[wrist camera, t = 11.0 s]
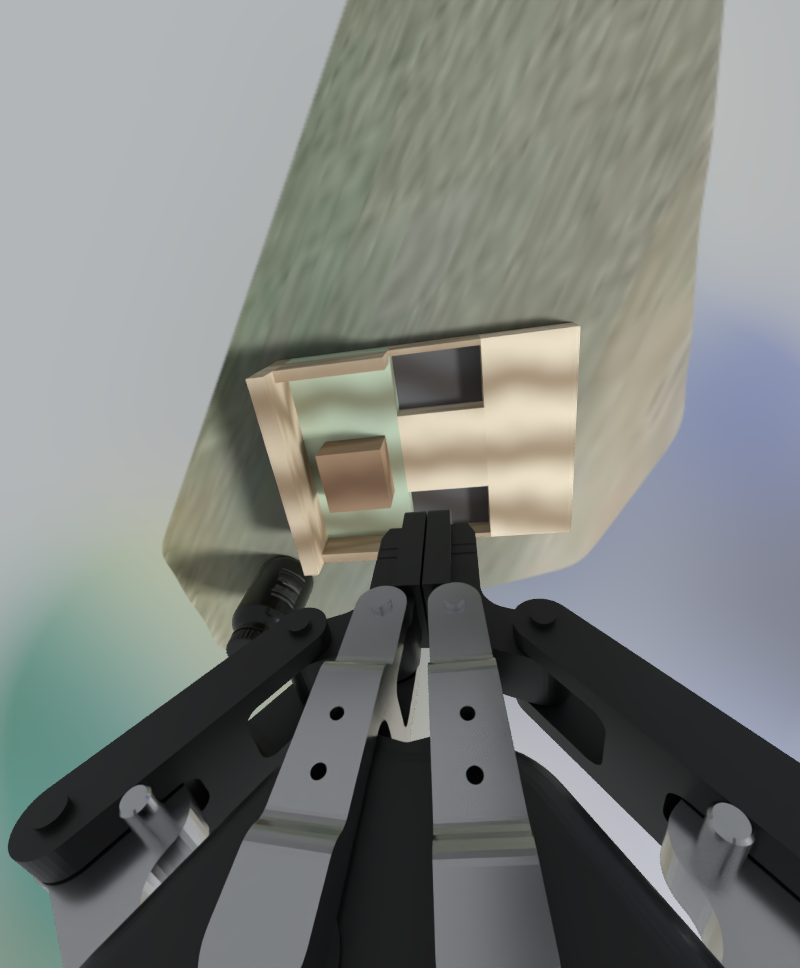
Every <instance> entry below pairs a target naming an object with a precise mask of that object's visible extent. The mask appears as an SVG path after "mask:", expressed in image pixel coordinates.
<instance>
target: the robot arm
mask: <svg viewBox="0 0 800 968" xmlns="http://www.w3.org/2000/svg"><path fill="white" fill-rule="evenodd" d="M421 648H430V663H428V687H429V716H430V737H428V738H424V739H420V740H416V741H412V742H411V731H412V725H413V718H414V711H415V705H416V699H417V693H418V686H419V679H420V665H419V663H420V655H421ZM290 679H291V680H292V683H293V684H292V685H291V686H289V687H288V688H287V689H286V690H285V691H283V692H282V693H281V694H280V695H279V696H278V697H276V698H275V699H274V700H273V701H272V702H271V703H269V704H268V705H267V706H266V707H265V708H263V709H262V710H261V711H260V712H259V713H258V714H256V715H255V716H254V717H253V718H252V719H250V720H249V721H248V719H249V717H250V715H251V714H252V712H253V711H254V710H255V709H256V708H257V707H258V706H259V705H261V704H262V703H263V702H264V701H265V700H266V699H268V698H269V697H270V696H271V695H273V694H274V693H275V692H276V691H277V690H278V689H280V688H281V687H282V686H283V685H284V684H286V683H287V682H288V681H289V680H290ZM503 694H505V695H508V696H511V697H514V698H516V699H517V701H518V704H519V705H520V707H521V708H522V709H523V710H524V711H525V712H526V713H527V714H528V715H529V716H530V717H531V718H532V719H533V720H534V721H535V722H536V723H537V724H538V725H539V726H540V727H541V728H542V729H543V730H544V731H545V732H546V733H547V734H548V735H549V736H550V737H551V738H552V739H553V740H554V741H555V742H556V743H557V744H559V746H560V747H561V748H562V749H563V750H564V751H565V752H566V753H567V754H568V755H569V756H571V757H572V759H573V760H574V761H575V762H577V763H578V764H579V765H580V766H581V767H582V768H583V769H584V770H585V771H586V772H587V773H588V774H589V775H590V776H591V777H592V778H593V779H594V780H595V781H596V782H597V783H598V784H599V785H600V786H601V787H602V788H603V789H604V790H605V791H606V792H607V793H608V794H609V795H610V796H611V797H612V798H613V799H614V800H615V801H616V802H617V803H618V804H619V805H620V806H621V807H622V808H623V809H624V810H625V811H626V812H627V813H628V814H629V815H631V817H633V818H634V820H635V821H637V822H638V823H639V824H640V825H641V826H642V827H643V828H644V829H645V830H646V831H647V832H648V833H649V834H650V835H651V836H652V837H653V838H654V839H655V840H656V841H657V842H658V843H659V844H660V845H661V852H660V863H661V869H662V873H663V875H664V878H665V881H666V883H667V885H668V887H669V889H670V891H671V893H672V894H673V896H674V897H675V899H676V900H677V901H678V903H679V904H680V905H681V906H682V908H683V909H684V910H685V911H686V913H687V914H688V915H689V916H690V918H691V920H692V922H693V923H694V925H695V926H696V928H697V930H698V932H699V934H700V936H701V939H702V941H703V942H702V941H701V940H700V939H699V938H698V937H697V936H696V935H695V933H694V932H693V931H692V930H691V929H690V928H689V926H688V925H687V924H686V923H685V922H684V921H683V920H682V919H681V917H680V916H679V915H678V914H677V913H676V912H675V911H674V910H673V908H672V907H671V906H670V905H669V904H668V903H667V902H666V901H665V899H664V898H663V897H662V896H661V895H660V894H659V893H658V892H657V890H656V889H655V888H654V887H653V886H652V885H651V884H650V883H649V881H648V880H647V879H646V878H645V877H644V876H643V875H642V874H641V872H639V870H638V869H637V868H636V867H635V866H634V865H633V864H632V862H631V861H630V860H629V859H628V858H627V857H626V856H625V855H624V853H623V852H622V851H621V850H620V849H619V848H618V847H617V845H616V844H615V843H614V842H613V841H612V840H611V839H610V838H609V837H608V835H607V834H606V833H605V832H604V831H603V830H602V829H601V827H600V826H599V825H598V824H597V823H596V822H595V821H594V820H593V818H592V817H591V816H590V815H589V814H588V813H587V812H586V810H585V809H584V808H583V807H582V806H581V805H580V804H579V803H578V801H577V800H576V799H575V798H574V797H573V796H572V795H571V793H570V792H569V791H568V790H567V789H566V788H565V787H564V786H563V784H561V783H560V781H559V780H558V779H557V778H556V777H555V776H554V775H553V774H551V773H550V772H549V771H548V770H547V769H546V768H544V767H543V766H542V765H540V764H539V763H537V762H536V761H534V760H533V759H531V758H529V757H527V756H526V755H524V754H522V753H519V752H517V751H515V750H514V746H513V741H512V736H511V731H510V726H509V721H508V717H507V712H506V707H505V702H504V697H503ZM8 851H9V854H10V856H11V858H12V859H14V860H15V861H16V862H17V863H18V864H20V865H21V866H22V867H23V868H25V869H26V870H27V871H28V872H29V873H31V874H32V875H33V877H34V879H35V881H36V882H37V883H38V884H39V885H40V886H42V887H43V888H44V889H45V890H46V891H48V892H49V894H50V899H51V904H52V909H53V915H54V920H55V925H56V931H57V936H58V941H59V946H60V951H61V957H62V962H63V967H64V968H800V763H799V762H797V761H796V760H795V759H793V758H792V757H790V756H788V755H787V754H785V753H784V752H782V751H781V750H779V749H778V748H776V747H775V746H773V745H772V744H770V743H769V742H767V741H766V740H764V739H763V738H761V737H760V736H758V735H757V734H755V733H754V732H752V731H751V730H749V729H748V728H746V727H745V726H743V725H742V724H740V723H739V722H737V721H736V720H734V719H732V718H731V717H730V716H728V715H727V714H725V713H724V712H722V711H721V710H719V709H718V708H716V707H714V706H713V705H712V704H710V703H709V702H707V701H706V700H704V699H703V698H701V697H699V696H698V695H697V694H695V693H693V692H692V691H690V690H689V689H688V688H686V687H685V686H683V685H682V684H680V683H678V682H677V681H675V680H674V679H672V678H671V677H669V676H668V675H666V674H665V673H663V672H662V671H660V670H659V669H657V668H656V667H654V666H653V665H651V664H650V663H648V662H647V661H645V660H644V659H642V658H641V657H639V656H638V655H636V654H635V653H633V652H632V651H630V650H629V649H627V648H626V647H624V646H623V645H621V644H620V643H618V642H617V641H615V640H614V639H612V638H611V637H609V636H608V635H606V634H605V633H603V632H602V631H600V630H599V629H597V628H596V627H594V626H592V625H591V624H589V623H588V622H586V621H585V620H584V619H582V618H581V617H579V616H578V615H576V614H574V613H573V612H572V611H570V610H569V609H567V608H566V607H564V606H562V605H560V604H559V603H556V602H554V601H551V600H547V599H532V600H528V601H525V602H523V603H521V604H520V605H518V606H517V608H516V609H515V610H514V609H510V608H505V607H501V606H498V605H496V604H494V603H492V602H491V601H489V600H488V599H487V598H486V597H485V596H484V595H483V593H482V591H481V588H480V579H479V568H478V557H477V546H476V535H475V531H474V530H473V529H472V528H471V526H470V525H469V524H468V523H461V524H452V516H451V509H443V510H430V511H428V513H427V511H419V512H406V513H405V514H404V519H403V525H402V528H392V529H389V530H388V532H387V533H386V534H385V535H384V536H383V537H382V539H381V543H380V548H379V552H378V556H377V561H376V565H375V569H374V573H373V578H372V582H371V586H370V590H368V591H367V592H365V593H364V594H363V595H362V596H361V597H360V598H359V599H358V601H357V603H356V606H355V608H354V610H352V611H350V612H348V613H345V614H342V615H339V616H335V617H332V618H328V619H326V616H325V614H324V613H323V612H322V611H321V610H319V609H316V608H302V609H298V610H295V611H293V612H291V613H289V614H288V615H286V616H285V617H283V618H282V619H281V620H279V621H278V622H276V623H275V624H274V625H272V626H271V627H270V628H268V629H267V630H265V631H264V632H263V633H261V634H260V635H259V636H257V637H256V638H254V639H253V640H252V641H250V642H249V643H248V644H246V645H245V646H243V647H242V648H241V649H239V650H238V651H237V652H235V653H234V654H232V655H231V656H230V657H228V658H227V659H226V660H224V661H223V662H221V663H220V664H219V665H217V666H216V667H215V668H213V669H212V670H210V671H209V672H208V673H206V674H205V675H204V676H202V677H201V678H199V679H198V680H197V681H195V682H194V683H193V684H191V685H190V686H189V687H187V688H186V689H184V690H183V691H182V692H180V693H179V694H178V695H176V696H175V697H173V698H172V699H171V700H169V701H168V702H166V703H165V704H164V705H162V706H161V707H160V708H158V709H157V710H155V711H154V712H153V713H151V714H150V715H149V716H147V717H146V718H145V719H143V720H142V721H140V722H139V723H138V724H136V725H135V726H133V727H132V728H131V729H129V730H128V731H127V732H125V733H124V734H122V735H121V736H120V737H118V738H117V739H116V740H114V741H113V742H111V743H110V744H109V745H107V746H106V747H105V748H103V749H102V750H100V751H99V752H98V753H96V754H95V755H93V756H92V757H91V758H89V759H88V760H87V761H85V762H84V763H83V764H81V765H80V766H78V767H77V768H76V769H74V770H73V771H71V772H70V773H69V774H67V775H66V776H65V777H63V778H62V779H60V780H59V781H58V782H56V783H55V784H54V785H52V786H51V787H49V788H48V789H47V790H46V791H44V792H43V793H42V794H41V795H39V796H38V797H37V798H36V799H35V800H34V801H33V802H32V803H31V804H30V805H29V806H28V808H27V809H26V810H25V811H24V812H23V814H22V815H21V817H20V818H19V820H18V821H17V823H16V824H15V826H14V828H13V830H12V833H11V835H10V839H9V843H8Z"/></svg>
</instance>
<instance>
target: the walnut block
mask: <svg viewBox="0 0 800 968" xmlns="http://www.w3.org/2000/svg"><path fill="white" fill-rule="evenodd" d="M315 457H316V461H317V465H318V469H319V473H320V477H321V481H322V484H323V488H324V492H325V496H326V500H327V504H328V508H329V512H330V513H336V512H349V511H361V510H374V509H386V508H391V505H392V501H393V497H394V492H395V489H394V483H393V477H392V471H391V466H390V460H389V454H388V449H387V443H386V437H385V436H376V437H366V438H357V439H348V440H338V441H329V442H325V443H324V444H323V446H322V447H321V449H320V450H319V452H318V453H317V454H316V456H315Z"/></svg>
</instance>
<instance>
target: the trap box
mask: <svg viewBox="0 0 800 968" xmlns="http://www.w3.org/2000/svg"><path fill="white" fill-rule="evenodd" d="M579 346H580V325H577V324H575V323H573V322H570V323H562V324H555V325H547V326H539V327H532V328H524V329H516V330H508V331H501V332H493V333H485V334H478V335H470V336H462V337H455V338H447V339H439V340H431V341H424V342H416V343H408V344H401V345H393V346H385V347H378V348H370V349H362V350H354V351H347V352H339V353H331V354H324V355H316V356H308V357H301V358H293V359H285V360H278V361H276V362H275V363H273V364H271V365H269V366H268V367H266V368H264V369H262V370H261V371H259V372H257V373H255V374H254V375H252V376H250V377H248V378H246V383H247V386H248V389H249V393H250V396H251V399H252V403H253V406H254V409H255V413H256V416H257V419H258V423H259V426H260V429H261V433H262V436H263V439H264V443H265V446H266V449H267V453H268V456H269V459H270V463H271V466H272V469H273V473H274V476H275V479H276V483H277V486H278V489H279V493H280V496H281V499H282V503H283V506H284V509H285V513H286V516H287V519H288V522H289V526H290V529H291V532H292V536H293V539H294V542H295V546H296V549H297V552H298V556H299V559H300V562H301V566H302V569H303V572H304V576H308V575H319V573H320V570H321V568H322V566H323V563H327V562H346V561H365V560H377V556H378V552H379V548H380V543H381V539H382V537H383V536H384V535H385V534H386V533H387V532H388V530H389V529H392V528H402V525H403V519H404V514H405V513H406V512H419V511H427V513H428V511H430V510H443V509H451V516H452V524H461V523H468V524H469V525H470V526H471V528H472V529H473V530H474V531H475V535H476V537H491V536H508V535H525V534H542V533H559V532H571V518H572V497H573V475H574V454H575V432H576V411H577V389H578V367H579ZM376 436H385V437H386V443H387V449H388V454H389V460H390V466H391V471H392V477H393V483H394V489H395V492H394V497H393V501H392V505H391V508H386V509H374V510H361V511H349V512H336V513H330V512H329V508H328V504H327V500H326V496H325V492H324V488H323V484H322V481H321V477H320V473H319V469H318V465H317V461H316V457H315V456H316V454H317V453H318V452H319V450H320V449H321V447H322V446H323V444H324V443H325V442H329V441H338V440H348V439H357V438H366V437H376Z"/></svg>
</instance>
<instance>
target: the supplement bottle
mask: <svg viewBox="0 0 800 968" xmlns="http://www.w3.org/2000/svg"><path fill="white" fill-rule="evenodd" d="M312 588H313V577H312V575H308V576H304V572H303V569H302V566H301V562H299V561H298V560H295V559H293V558H289V557H276V558H273V559H270V560H269V561H267V562H266V563H265V564H264V565H263V566H262V568H261V569H260V571H259V572H258V574H257V576H256V577H255V579H254V581H253V582H252V584H251V586H250V587H249V589H248V591H247V592H246V594H245V596H244V597H243V599H242V601H241V602H240V604H239V606H238V607H237V609H236V611H235V613H234V615H233V618H232V627H233V631H234V632H233V634H232V636H231V638H230V640H229V642H228V644H227V648H226V651H227V652H226V653H227V654H228V657H230V656H231V655H232V654H234V653H235V652H237V651H238V650H239V649H241V648H242V647H243V646H245V645H246V644H248V643H249V642H250V641H252V640H253V639H254V638H256V637H257V636H259V635H260V634H261V633H263V632H264V631H265V630H267V629H268V628H270V627H271V626H272V625H274V624H275V623H276V622H278V621H279V620H281V619H282V618H283V617H285V616H286V615H288V614H289V613H291V612H293V611H295V610H298V609H302V608H305V606H306V604H307V601H308V599H309V596H310V594H311V591H312Z"/></svg>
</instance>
